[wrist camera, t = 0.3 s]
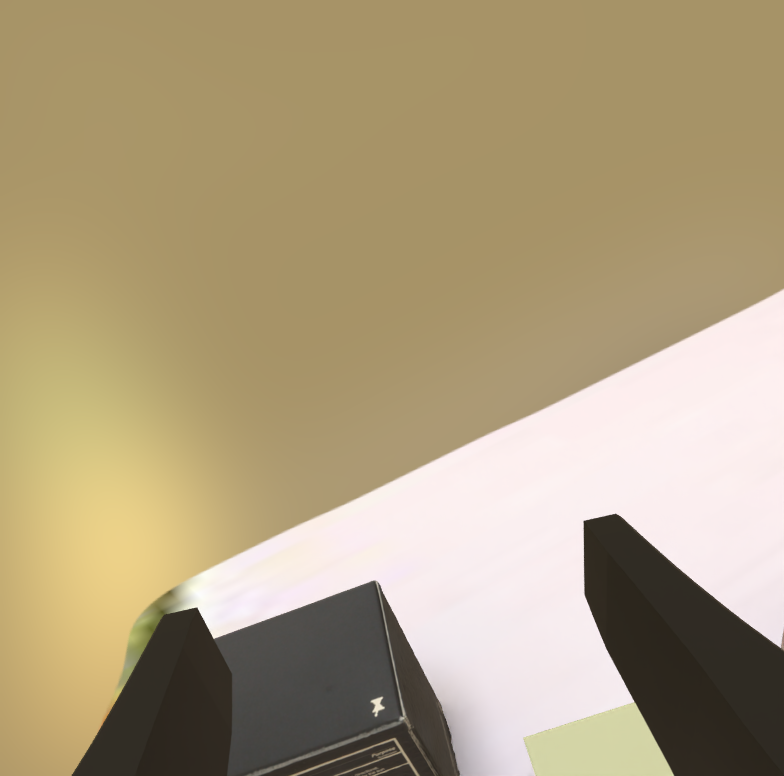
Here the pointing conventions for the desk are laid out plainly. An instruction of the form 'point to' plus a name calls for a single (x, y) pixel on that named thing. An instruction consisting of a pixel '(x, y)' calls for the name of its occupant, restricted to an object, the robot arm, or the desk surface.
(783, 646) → the steel bookend
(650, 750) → the sage book
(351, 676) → the small box
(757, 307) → the desk surface
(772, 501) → the desk surface
